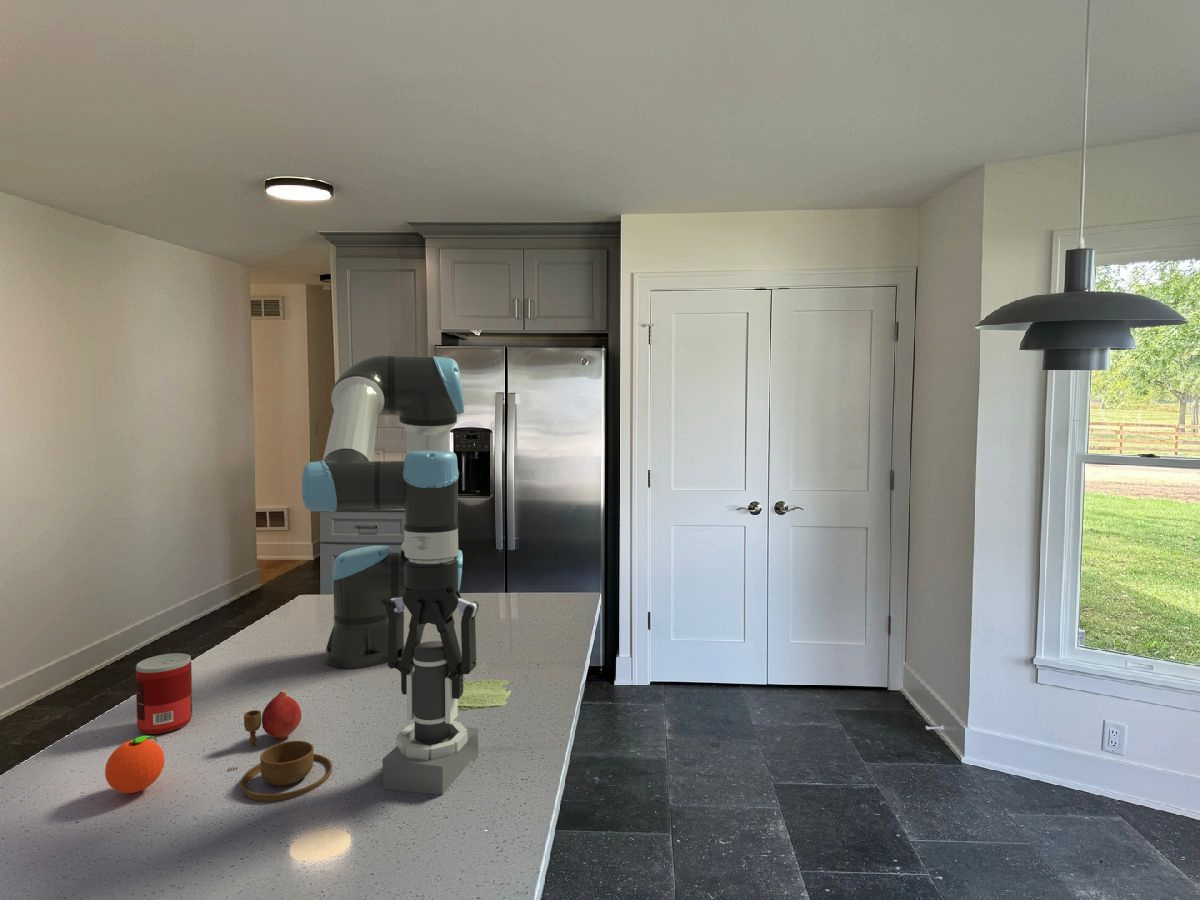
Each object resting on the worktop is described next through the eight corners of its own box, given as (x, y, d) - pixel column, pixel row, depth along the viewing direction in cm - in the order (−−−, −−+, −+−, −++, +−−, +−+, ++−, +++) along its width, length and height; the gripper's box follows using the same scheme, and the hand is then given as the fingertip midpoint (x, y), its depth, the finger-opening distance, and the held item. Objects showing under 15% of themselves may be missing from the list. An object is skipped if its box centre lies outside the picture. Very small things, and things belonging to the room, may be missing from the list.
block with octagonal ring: (444, 803, 94) (443, 756, 94) (381, 794, 96) (381, 748, 96) (479, 760, 105) (479, 719, 105) (422, 753, 108) (422, 713, 107)
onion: (263, 751, 108) (262, 700, 108) (261, 736, 113) (260, 688, 113) (303, 742, 111) (302, 693, 111) (299, 728, 116) (298, 681, 116)
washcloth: (515, 719, 121) (515, 701, 121) (411, 726, 118) (411, 707, 118) (511, 690, 134) (511, 674, 134) (417, 696, 131) (417, 679, 131)
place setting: (206, 816, 91) (205, 773, 91) (241, 747, 110) (240, 711, 110) (347, 798, 96) (346, 756, 96) (357, 734, 115) (357, 699, 115)
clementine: (134, 772, 101) (133, 725, 101) (180, 773, 101) (179, 725, 101) (92, 802, 93) (91, 751, 93) (143, 804, 93) (141, 752, 93)
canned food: (202, 718, 120) (201, 655, 119) (160, 738, 112) (158, 671, 112) (170, 712, 122) (168, 650, 122) (126, 731, 115) (124, 665, 114)
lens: (407, 741, 98) (406, 651, 98) (423, 725, 103) (423, 639, 103) (441, 744, 97) (441, 653, 97) (456, 728, 102) (456, 642, 102)
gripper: (359, 560, 97) (361, 723, 98) (482, 566, 94) (483, 734, 95) (385, 551, 105) (386, 702, 106) (500, 556, 101) (500, 712, 102)
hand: (432, 717), depth 100 cm, fingers closed on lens, 5 cm apart
